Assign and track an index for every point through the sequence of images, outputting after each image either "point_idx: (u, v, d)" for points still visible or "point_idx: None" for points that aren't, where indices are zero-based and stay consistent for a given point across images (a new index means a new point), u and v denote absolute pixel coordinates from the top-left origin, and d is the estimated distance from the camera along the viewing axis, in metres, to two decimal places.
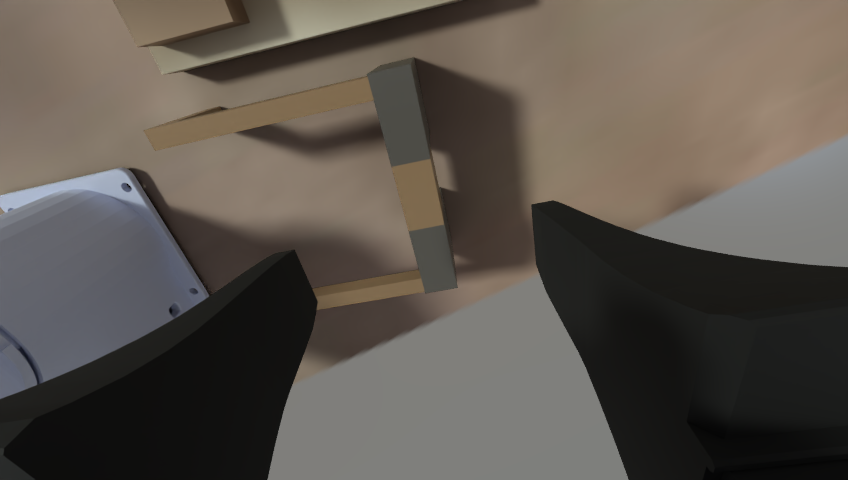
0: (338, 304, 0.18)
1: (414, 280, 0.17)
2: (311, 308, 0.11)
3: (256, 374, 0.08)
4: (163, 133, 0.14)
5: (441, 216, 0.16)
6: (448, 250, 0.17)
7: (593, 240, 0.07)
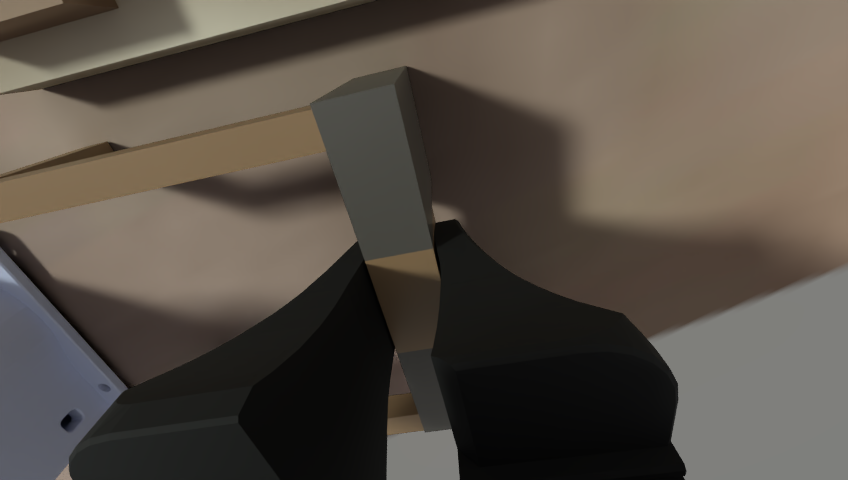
0: None
1: (407, 416, 0.11)
2: None
3: (371, 357, 0.08)
4: None
5: None
6: None
7: (451, 265, 0.07)
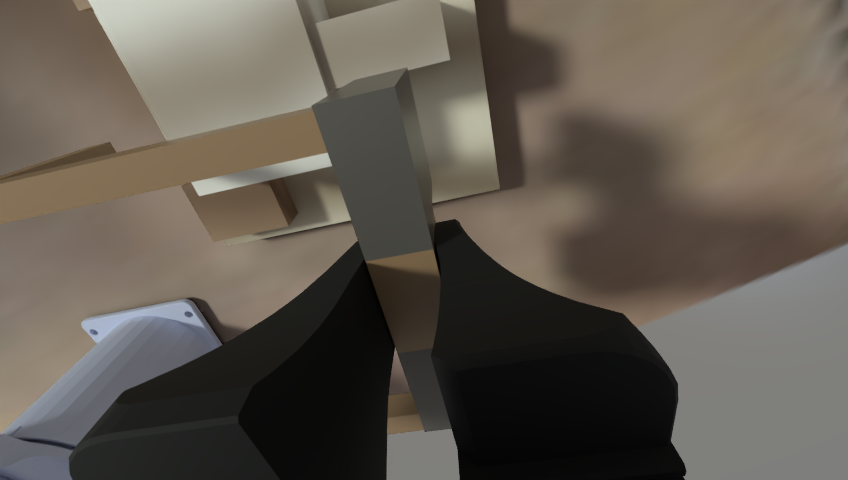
0: None
1: (407, 415, 0.11)
2: None
3: (371, 357, 0.08)
4: None
5: None
6: None
7: (451, 265, 0.07)
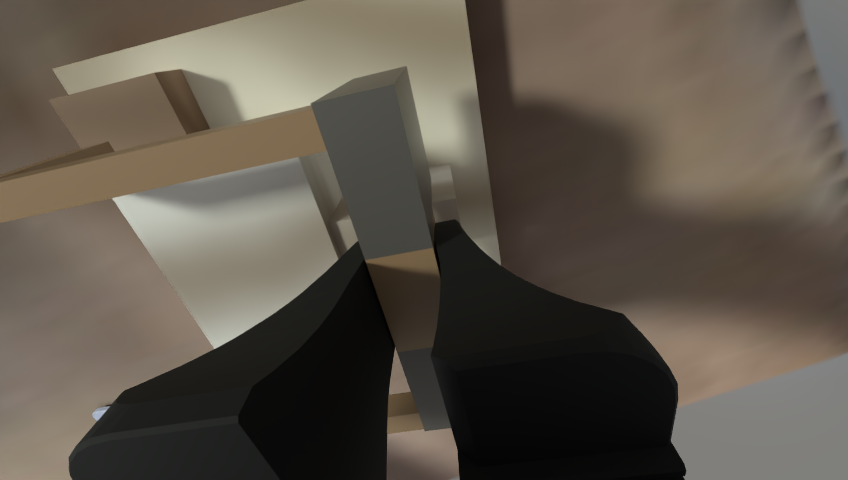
0: None
1: (407, 415, 0.11)
2: None
3: (370, 357, 0.08)
4: None
5: None
6: None
7: (451, 265, 0.07)
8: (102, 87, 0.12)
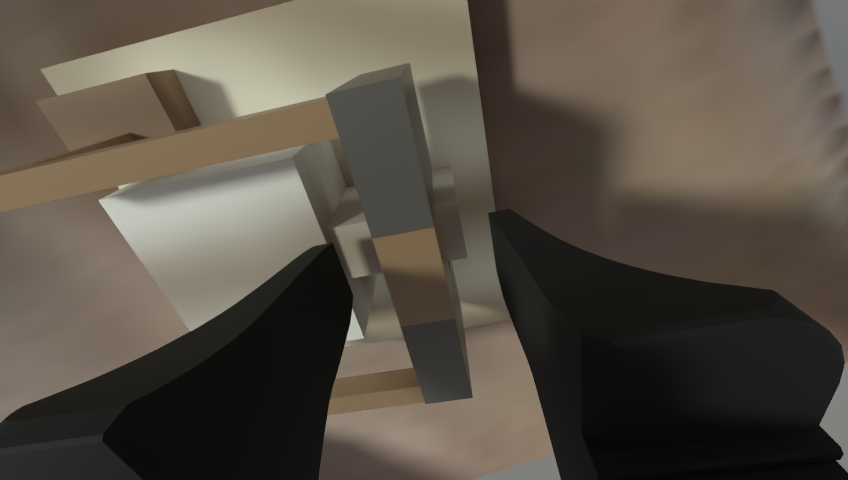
0: None
1: (409, 388, 0.12)
2: (348, 302, 0.11)
3: (306, 366, 0.08)
4: None
5: (450, 307, 0.10)
6: (460, 351, 0.11)
7: (529, 251, 0.07)
8: (91, 88, 0.12)
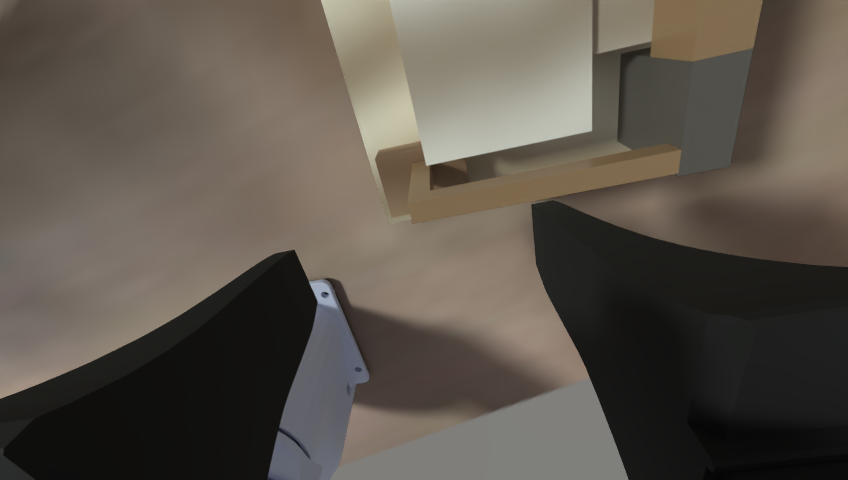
0: (543, 196, 0.13)
1: (669, 153, 0.12)
2: (311, 308, 0.11)
3: (256, 374, 0.08)
4: None
5: (754, 32, 0.10)
6: (741, 98, 0.11)
7: (593, 240, 0.07)
8: None
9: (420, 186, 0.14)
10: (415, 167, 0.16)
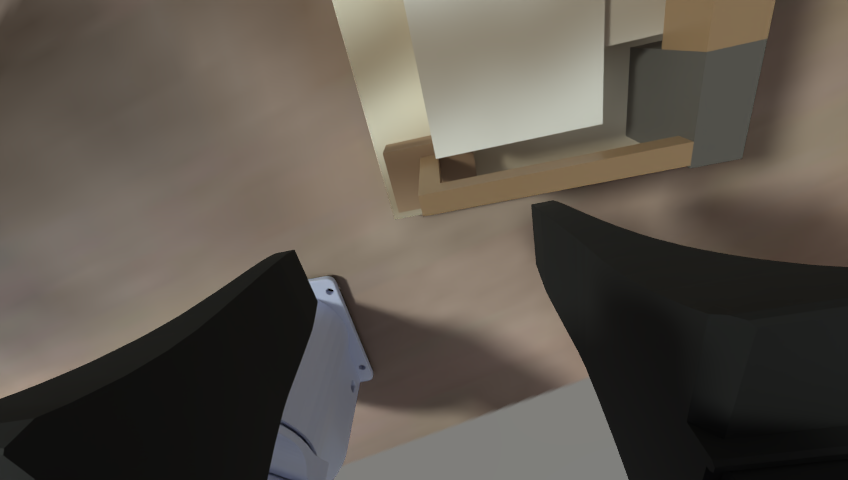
0: (554, 188, 0.12)
1: (681, 145, 0.12)
2: (311, 308, 0.11)
3: (256, 374, 0.08)
4: None
5: (768, 22, 0.10)
6: (754, 89, 0.11)
7: (593, 240, 0.07)
8: None
9: (430, 179, 0.14)
10: (423, 161, 0.16)
